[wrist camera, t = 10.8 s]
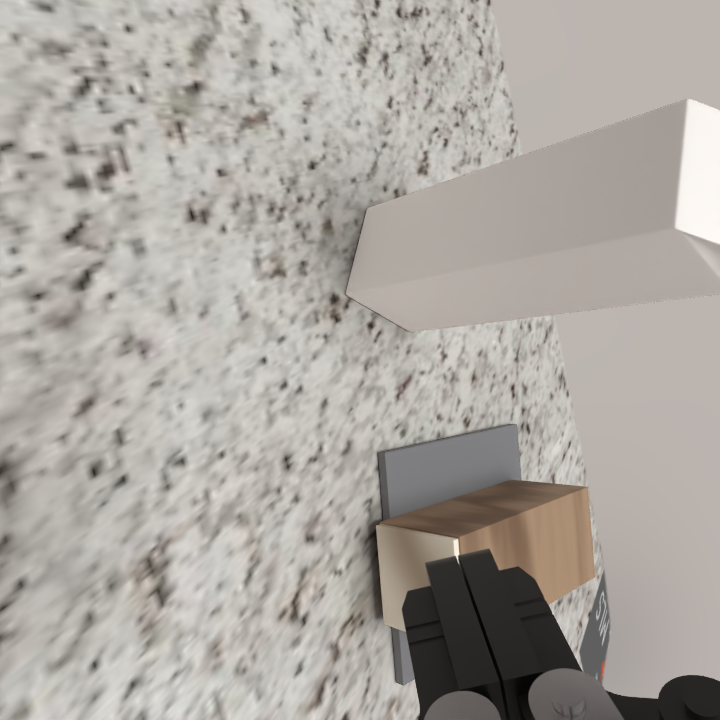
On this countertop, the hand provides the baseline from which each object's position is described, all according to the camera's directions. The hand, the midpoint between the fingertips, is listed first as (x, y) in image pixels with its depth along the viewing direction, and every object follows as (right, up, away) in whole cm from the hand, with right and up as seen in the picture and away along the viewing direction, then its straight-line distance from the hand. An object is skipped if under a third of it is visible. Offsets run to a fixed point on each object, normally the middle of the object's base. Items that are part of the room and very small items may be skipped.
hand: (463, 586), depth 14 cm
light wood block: (+1, -7, +21) cm, 22 cm away
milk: (-1, +11, +26) cm, 28 cm away
